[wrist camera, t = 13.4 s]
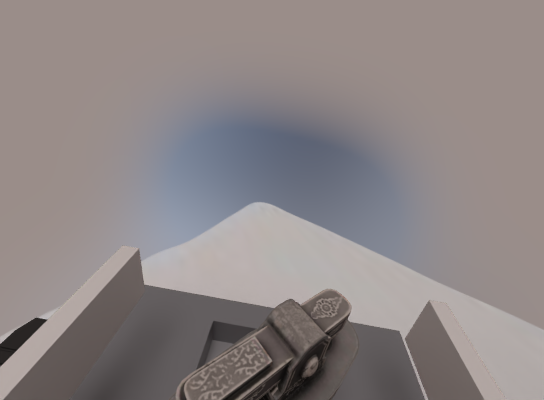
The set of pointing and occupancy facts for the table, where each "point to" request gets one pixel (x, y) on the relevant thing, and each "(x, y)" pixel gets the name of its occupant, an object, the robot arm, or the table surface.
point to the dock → (217, 338)
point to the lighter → (283, 356)
